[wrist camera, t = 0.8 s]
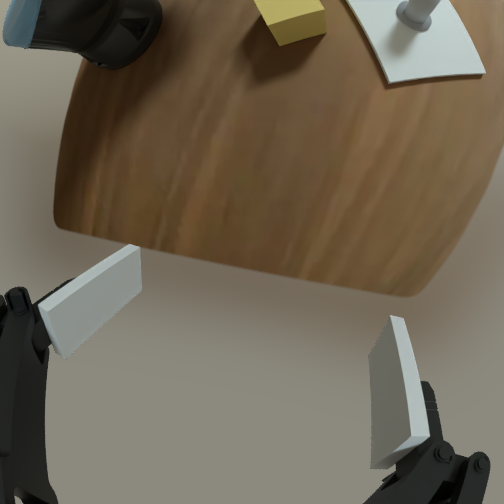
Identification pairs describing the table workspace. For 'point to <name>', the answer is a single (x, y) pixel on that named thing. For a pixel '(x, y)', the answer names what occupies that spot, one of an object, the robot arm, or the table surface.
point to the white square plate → (417, 38)
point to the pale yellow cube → (293, 19)
